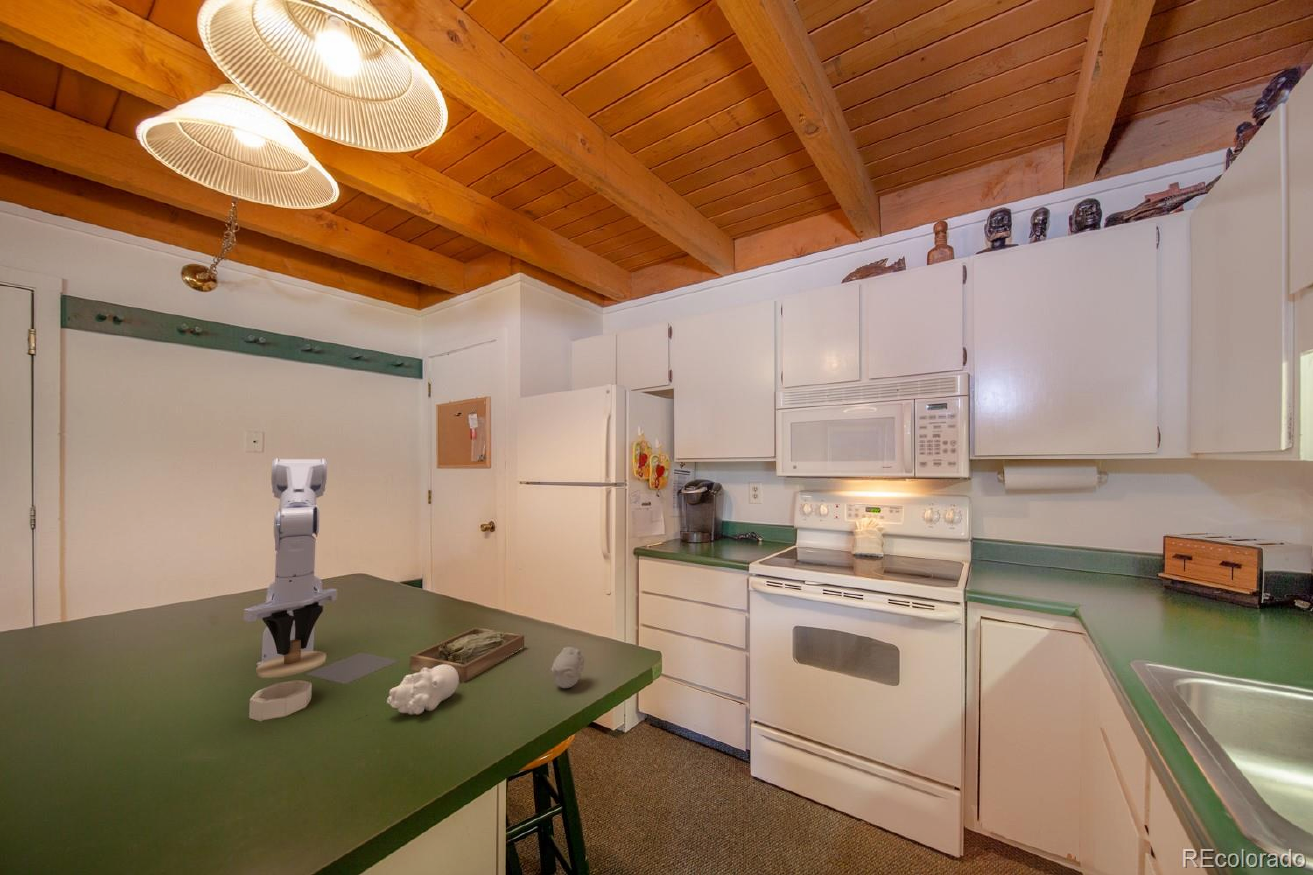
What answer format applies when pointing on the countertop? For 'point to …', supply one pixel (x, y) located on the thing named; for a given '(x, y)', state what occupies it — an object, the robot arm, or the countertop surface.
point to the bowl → (280, 700)
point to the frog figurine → (567, 667)
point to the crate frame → (473, 667)
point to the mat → (352, 668)
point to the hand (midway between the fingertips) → (292, 650)
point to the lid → (291, 662)
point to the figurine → (424, 689)
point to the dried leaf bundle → (471, 647)
